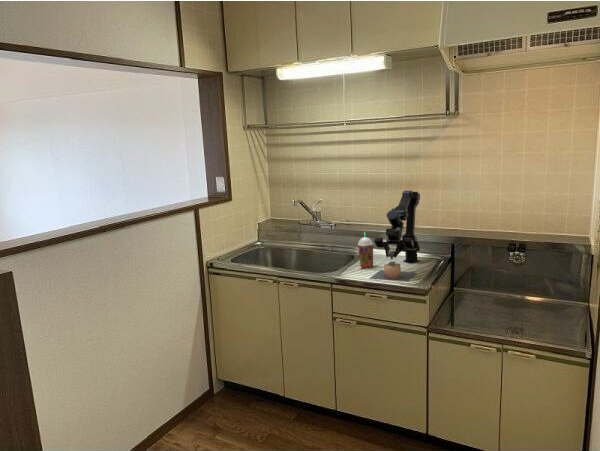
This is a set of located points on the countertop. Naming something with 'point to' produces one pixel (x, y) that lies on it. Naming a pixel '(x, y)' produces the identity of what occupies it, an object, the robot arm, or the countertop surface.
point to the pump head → (391, 254)
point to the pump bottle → (392, 270)
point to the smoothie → (365, 252)
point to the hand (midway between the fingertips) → (390, 257)
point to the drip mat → (404, 277)
